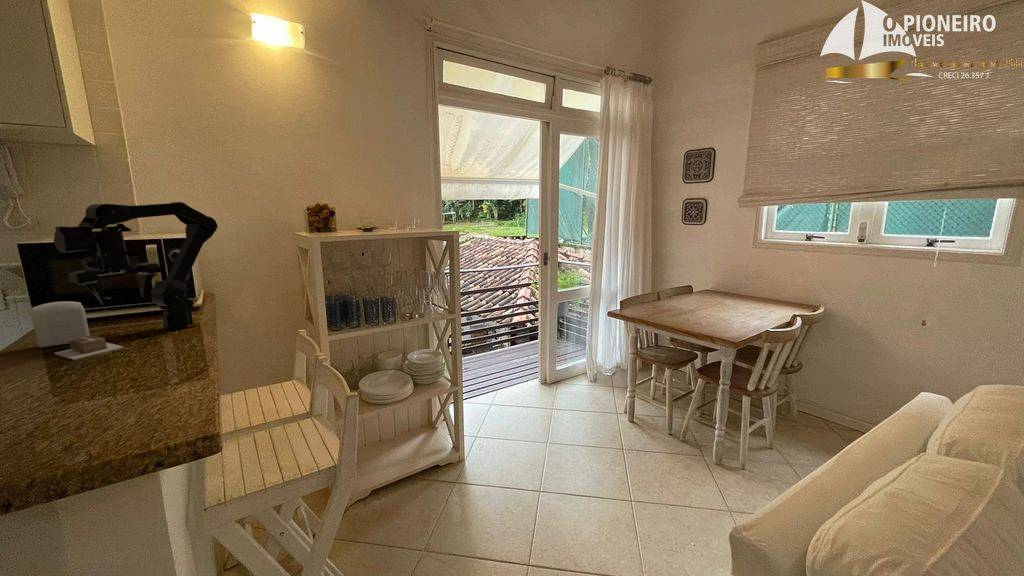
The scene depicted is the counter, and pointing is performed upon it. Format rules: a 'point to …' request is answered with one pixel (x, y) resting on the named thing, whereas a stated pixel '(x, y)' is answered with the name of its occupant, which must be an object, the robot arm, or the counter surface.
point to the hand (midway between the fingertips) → (124, 301)
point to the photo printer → (59, 323)
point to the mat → (77, 355)
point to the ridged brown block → (88, 344)
